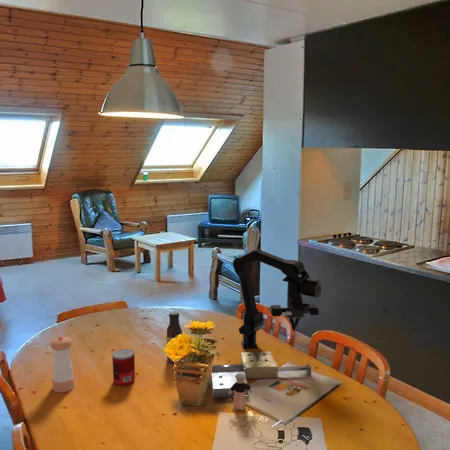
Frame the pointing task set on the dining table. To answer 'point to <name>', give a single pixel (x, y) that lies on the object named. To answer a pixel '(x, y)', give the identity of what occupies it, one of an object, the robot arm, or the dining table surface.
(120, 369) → the canned food
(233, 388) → the grandmother figurine
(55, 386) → the pepper shaker
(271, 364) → the beige block with rivets
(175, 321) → the sauce bottle
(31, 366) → the dining table surface
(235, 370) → the fixed leaf
